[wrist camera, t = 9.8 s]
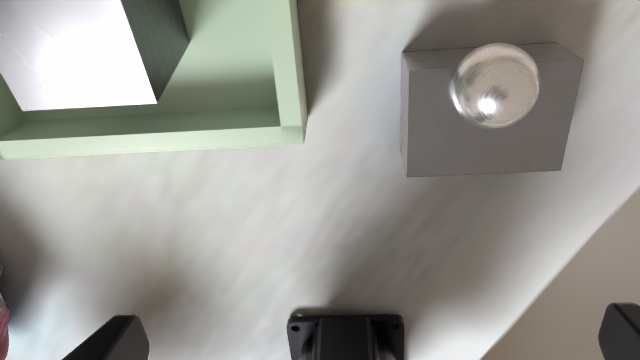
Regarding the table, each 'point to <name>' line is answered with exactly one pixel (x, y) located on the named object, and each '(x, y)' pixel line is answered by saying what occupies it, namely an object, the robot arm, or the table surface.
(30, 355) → the table surface
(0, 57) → the strut
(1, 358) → the brake caliper
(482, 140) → the stud mount
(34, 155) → the tray
